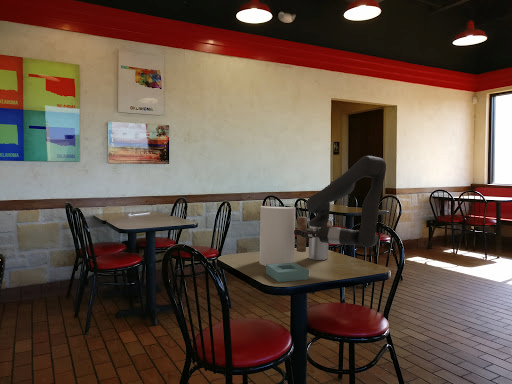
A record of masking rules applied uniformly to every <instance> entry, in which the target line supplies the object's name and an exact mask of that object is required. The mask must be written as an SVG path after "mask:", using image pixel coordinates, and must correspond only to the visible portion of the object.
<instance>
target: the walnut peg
mask: <svg viewBox="0 0 512 384" xmlns="http://www.w3.org/2000/svg"><path fill="white" fill-rule="evenodd" d="M296 223H297V225H296V226H297V227H296V230H304V231H307V229H308V225H307V224H308V216H297V222H296ZM304 235H305V233H304ZM296 252H299V253H306V252H307V238H306V237H301V235H296Z"/></svg>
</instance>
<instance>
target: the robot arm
mask: <svg viewBox="0 0 512 384" xmlns="http://www.w3.org/2000/svg"><path fill="white" fill-rule="evenodd" d="M386 171H387V163H386V161H385V160H384V158H382V157H378V156H373V155H365V156H362V157H360V159H358V160H357V162H355V163H354V164H353V165H352V166H351V167H350V168H349V169H348V170H347V171H345V172H344V173H343V174H341V175H340V176H338V177H337V178H335V179H334V180H333V181H332V182H331V183H329V184H328V185H326V186H325V187H324V188H322V189H321V190H319V191H318V192H316V193H314V194H312V195H311V196H309V197H308V198H307V200H306V203H305V205H306V209H307V211H308V212H310V213H312V214H316V216H315V217H313V218H311V219H310V220H309V228H307V231H304V230H297V229H295V230H294V235H295V236H297V235H301V237H306V239H307V238H308V259H310V260H312V261H313V260H315V261H324V260H328V259H329V244H332V245H344V246H345V245H346V246H352V245H354V246H360V247H363V248H372V247H374V246H376V245H377V244H378V242H379V238H378V235H377V233H376V227H377V224H378V222H379V208H380V207H379V206H380V199H381V193H382V190H383V185H384V183H385V182H384V181H385V176H386ZM363 178H371V187H370V189H369V191H368V193H367V195H366V196H365V198H364V200H363V202H362V205H361V212H360V213H361V217H360V219H361V220H360V225H359V226H360V227H359V230H357V229H356V230H354V229H350V228H342V227H338V226H337V227H336V226H335V227H334V226H328V224H329V221H330V209H331V202H336V201H338V200H341V199H342V198H345V197H346V196H348V195H349V194H351V193H353V191H354V189H355V186H356V182H358V181H359V180H361V179H363ZM304 233H305V235H304Z"/></svg>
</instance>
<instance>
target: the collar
mask: <svg viewBox="0 0 512 384" xmlns="http://www.w3.org/2000/svg"><path fill="white" fill-rule="evenodd" d="M309 272H310V270H309V268H306V267H304V266H302V265H300V264H298V263H296V262H294V263H281V264H266V266H265V274H266V275H267V276H269V277H270V278H272V279H273V280H275V281H276V282H278V283H280V282H293V281H304V280H306V281H307V280H310V279H309V278H310V276H309V274H310V273H309Z"/></svg>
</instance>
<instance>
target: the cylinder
mask: <svg viewBox="0 0 512 384" xmlns="http://www.w3.org/2000/svg"><path fill="white" fill-rule="evenodd" d="M259 209H260V211H259V212H260V213H259V215H260V218H259V257H258V258H259V259H258V260H259V261H258V263H259V265H262V266H265V267H266V264H281V263H295V250H296V249H295V246H296V245H295V243H296V242H295V241H296V240H295V239H296V238H295V237H296V235H294V230H296V211H297V210H296V207H295V206H294V207H290V206H289V207H288V206H287V207H286V206H266V205H265V206H264V205H261V206H260V208H259Z"/></svg>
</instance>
